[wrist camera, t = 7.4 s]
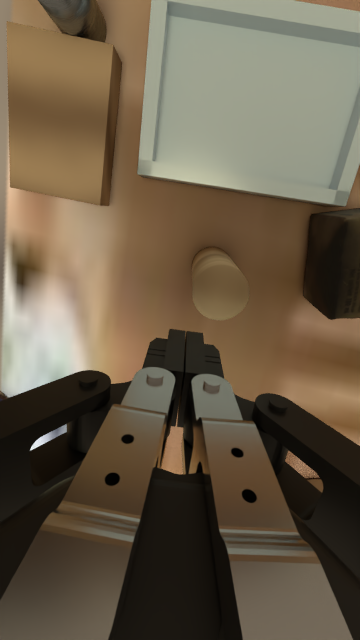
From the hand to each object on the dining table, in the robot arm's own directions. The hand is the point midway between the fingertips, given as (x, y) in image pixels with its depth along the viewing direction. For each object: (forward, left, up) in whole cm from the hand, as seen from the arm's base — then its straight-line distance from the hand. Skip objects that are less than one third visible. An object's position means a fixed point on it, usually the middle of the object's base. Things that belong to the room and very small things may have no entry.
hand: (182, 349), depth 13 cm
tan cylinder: (+1, -2, -15) cm, 15 cm away
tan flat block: (+10, +11, -15) cm, 21 cm away
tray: (+13, -3, -15) cm, 20 cm away
